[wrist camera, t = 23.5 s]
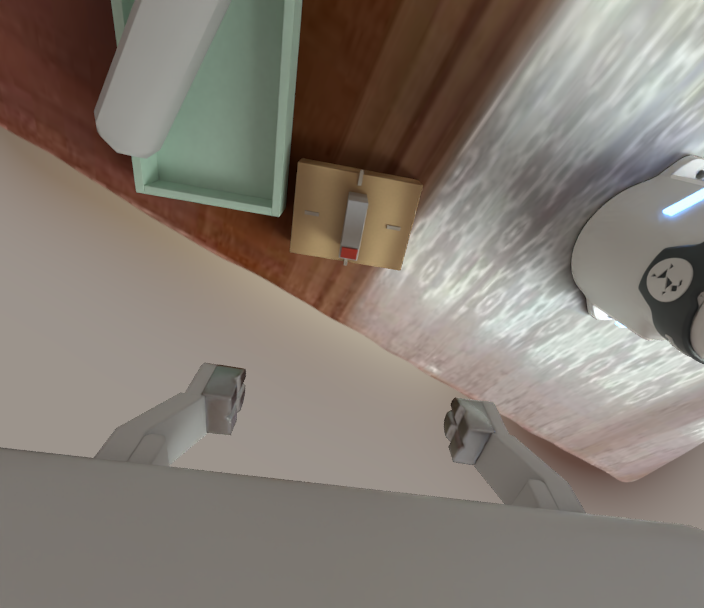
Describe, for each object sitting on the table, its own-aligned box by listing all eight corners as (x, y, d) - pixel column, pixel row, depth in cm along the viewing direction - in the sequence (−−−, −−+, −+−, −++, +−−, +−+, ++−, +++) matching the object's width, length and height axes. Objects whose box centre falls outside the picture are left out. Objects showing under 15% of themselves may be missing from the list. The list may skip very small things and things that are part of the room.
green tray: (322, -243, 22) (316, -301, 19) (285, 208, 37) (279, 217, 34) (104, -305, 21) (60, -377, 18) (155, 185, 36) (135, 192, 32)
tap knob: (348, 191, 33) (348, 200, 29) (367, 194, 33) (368, 203, 30) (339, 245, 35) (338, 258, 32) (356, 247, 36) (357, 262, 32)
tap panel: (419, 176, 35) (424, 181, 32) (396, 263, 40) (399, 274, 37) (302, 154, 34) (297, 157, 31) (293, 245, 39) (288, 255, 36)
